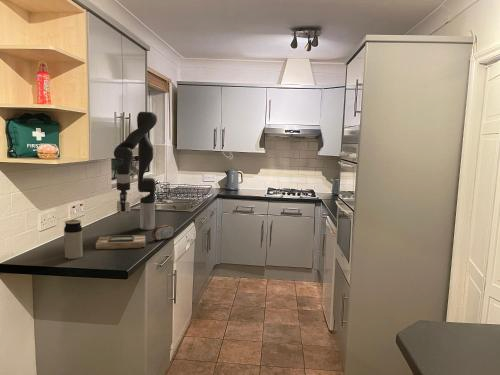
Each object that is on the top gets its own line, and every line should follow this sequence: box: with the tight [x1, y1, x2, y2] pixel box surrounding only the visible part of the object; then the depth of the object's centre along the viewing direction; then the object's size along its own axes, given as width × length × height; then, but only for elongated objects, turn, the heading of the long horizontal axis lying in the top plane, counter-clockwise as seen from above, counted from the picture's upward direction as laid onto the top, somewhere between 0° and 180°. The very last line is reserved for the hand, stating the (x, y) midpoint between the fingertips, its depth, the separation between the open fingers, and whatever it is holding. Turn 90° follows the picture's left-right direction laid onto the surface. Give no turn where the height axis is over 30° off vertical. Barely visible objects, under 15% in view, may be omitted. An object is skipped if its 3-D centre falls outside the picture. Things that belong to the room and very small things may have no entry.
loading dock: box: [95, 234, 146, 250], centre depth 217 cm, size 15×25×4 cm, turn 103°
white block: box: [116, 200, 131, 214], centre depth 230 cm, size 5×7×7 cm
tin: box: [151, 223, 175, 241], centre depth 232 cm, size 15×3×8 cm, turn 141°
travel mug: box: [63, 219, 84, 260], centre depth 192 cm, size 8×8×18 cm
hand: (123, 210), depth 230 cm, fingers closed on white block, 5 cm apart
